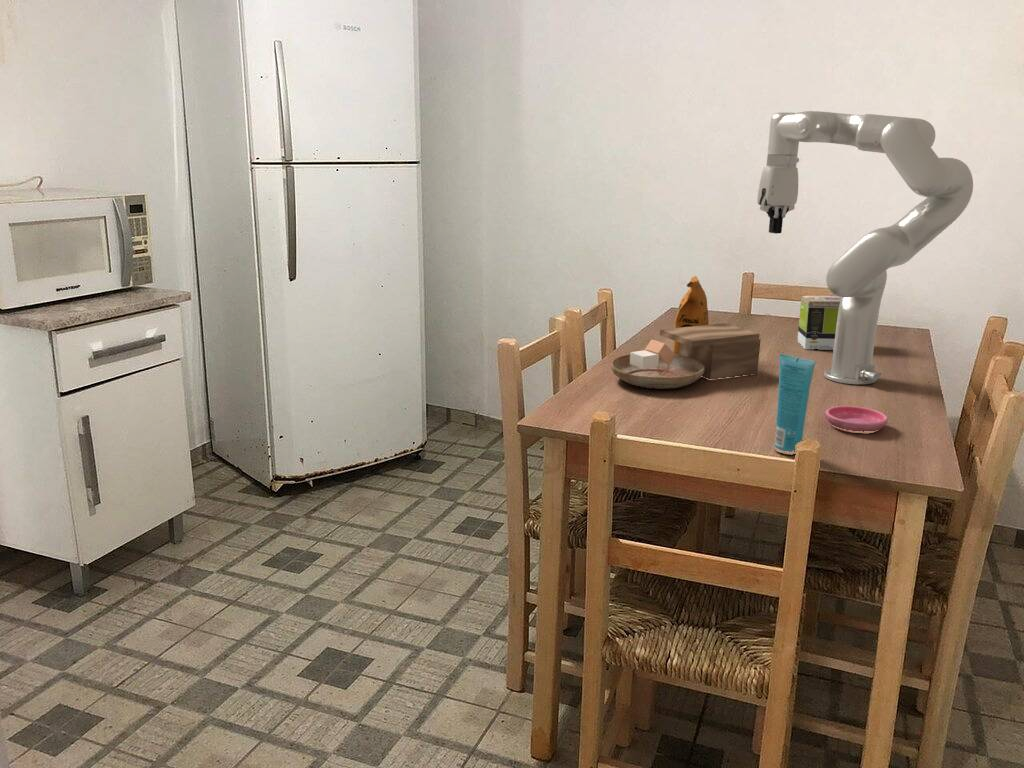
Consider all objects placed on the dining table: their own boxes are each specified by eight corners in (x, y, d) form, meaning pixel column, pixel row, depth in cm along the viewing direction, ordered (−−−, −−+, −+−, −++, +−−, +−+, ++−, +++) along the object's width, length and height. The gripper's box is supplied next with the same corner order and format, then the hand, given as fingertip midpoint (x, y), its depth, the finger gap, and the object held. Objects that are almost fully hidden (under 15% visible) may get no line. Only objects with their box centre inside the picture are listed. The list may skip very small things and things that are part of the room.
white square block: (643, 356, 206) (642, 368, 207) (658, 354, 208) (658, 365, 209) (630, 352, 210) (629, 364, 211) (645, 350, 213) (645, 361, 213)
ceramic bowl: (594, 374, 219) (594, 356, 218) (672, 367, 227) (673, 349, 226) (637, 400, 198) (638, 379, 197) (722, 390, 206) (723, 371, 205)
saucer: (817, 429, 179) (819, 415, 178) (832, 414, 189) (833, 401, 188) (879, 441, 172) (881, 427, 172) (891, 425, 182) (893, 411, 181)
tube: (810, 453, 165) (821, 358, 160) (799, 459, 162) (810, 363, 156) (774, 443, 170) (784, 351, 164) (763, 450, 166) (773, 356, 161)
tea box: (847, 343, 255) (853, 295, 250) (856, 351, 245) (863, 301, 241) (796, 342, 256) (801, 294, 252) (803, 350, 246) (809, 300, 242)
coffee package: (667, 359, 234) (672, 281, 228) (675, 349, 245) (680, 274, 239) (703, 363, 230) (709, 283, 224) (710, 353, 242) (715, 277, 235)
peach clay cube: (664, 343, 208) (658, 353, 208) (675, 354, 211) (668, 364, 211) (651, 339, 213) (645, 348, 212) (662, 350, 215) (655, 359, 215)
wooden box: (757, 374, 220) (761, 333, 217) (689, 383, 211) (692, 341, 208) (723, 362, 232) (726, 323, 229) (657, 370, 223) (660, 329, 220)
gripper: (793, 161, 226) (786, 230, 231) (749, 161, 220) (743, 232, 225) (814, 162, 220) (806, 233, 225) (768, 162, 214) (762, 235, 219)
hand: (774, 232), depth 225 cm, fingers closed
